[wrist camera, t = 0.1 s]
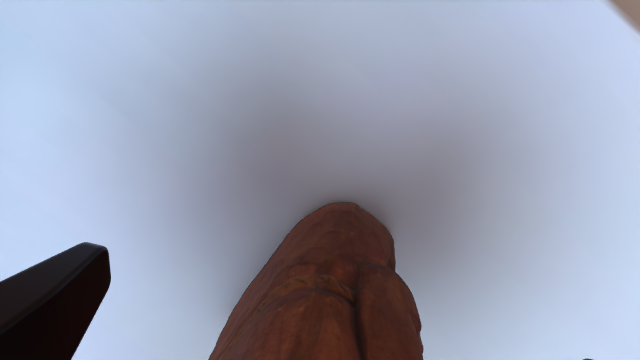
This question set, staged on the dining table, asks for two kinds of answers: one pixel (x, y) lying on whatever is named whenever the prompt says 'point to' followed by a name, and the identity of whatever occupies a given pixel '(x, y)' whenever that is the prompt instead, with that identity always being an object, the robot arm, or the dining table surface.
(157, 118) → the dining table surface
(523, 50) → the dining table surface
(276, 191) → the dining table surface
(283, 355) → the wooden figurine
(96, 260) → the robot arm
